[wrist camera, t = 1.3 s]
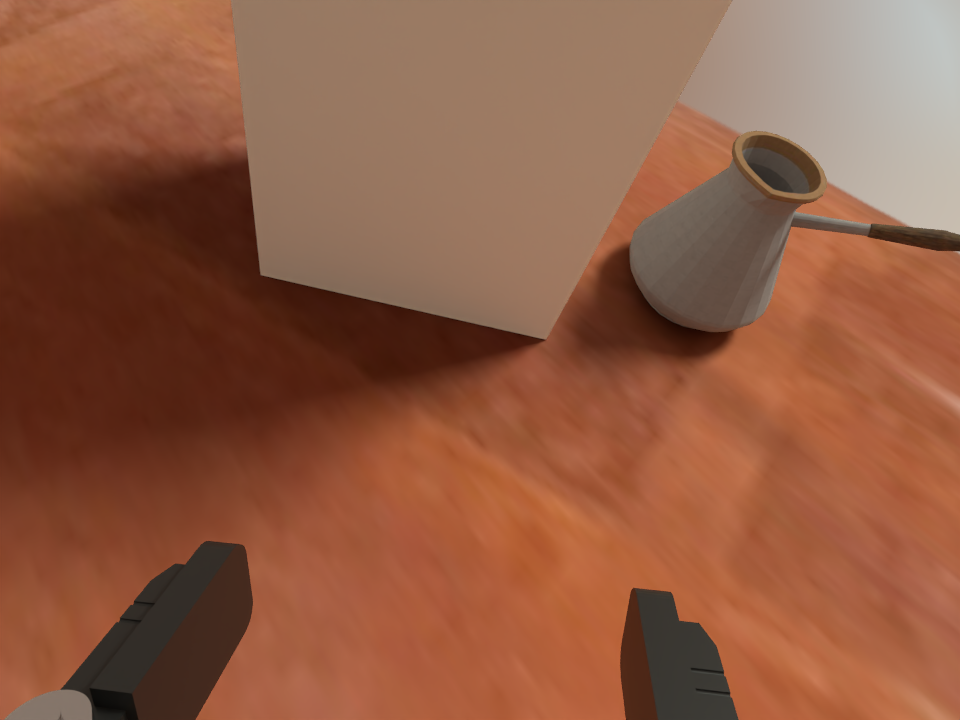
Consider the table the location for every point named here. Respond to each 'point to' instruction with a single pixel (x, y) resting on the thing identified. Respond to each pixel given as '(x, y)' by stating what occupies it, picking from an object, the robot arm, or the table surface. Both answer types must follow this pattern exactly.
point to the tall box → (454, 141)
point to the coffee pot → (741, 236)
